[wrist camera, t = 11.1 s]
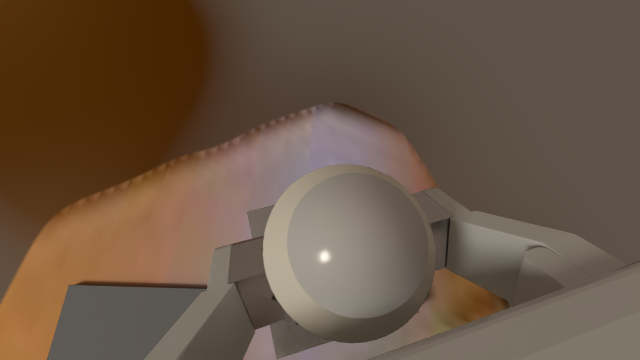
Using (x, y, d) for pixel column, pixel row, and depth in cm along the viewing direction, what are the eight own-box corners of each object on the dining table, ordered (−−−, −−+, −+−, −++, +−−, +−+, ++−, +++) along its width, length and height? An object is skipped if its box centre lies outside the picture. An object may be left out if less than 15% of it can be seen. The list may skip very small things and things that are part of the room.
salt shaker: (375, 309, 12) (473, 357, 5) (279, 307, 11) (244, 355, 5) (371, 214, 13) (444, 150, 6) (285, 211, 13) (264, 143, 6)
